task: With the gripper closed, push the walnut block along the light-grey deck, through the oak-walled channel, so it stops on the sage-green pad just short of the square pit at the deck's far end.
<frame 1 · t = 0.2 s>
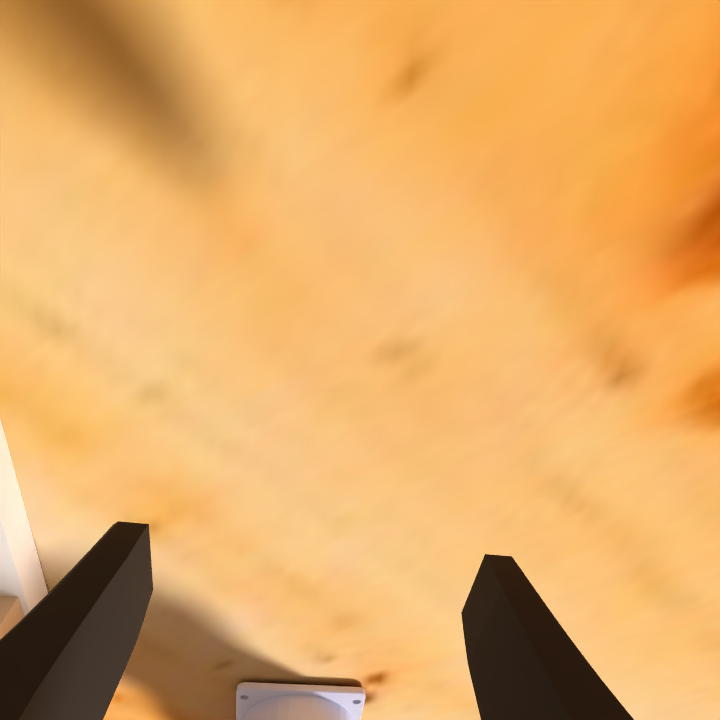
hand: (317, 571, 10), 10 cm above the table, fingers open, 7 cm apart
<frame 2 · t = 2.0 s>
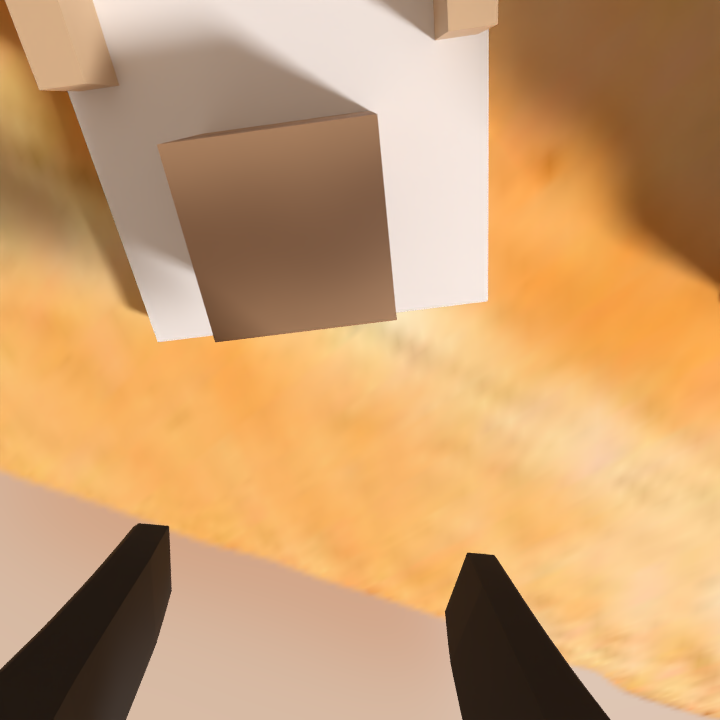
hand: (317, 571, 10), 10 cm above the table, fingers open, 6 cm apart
walnut block: (300, 208, 15), point 1 cm above the table, touching deck
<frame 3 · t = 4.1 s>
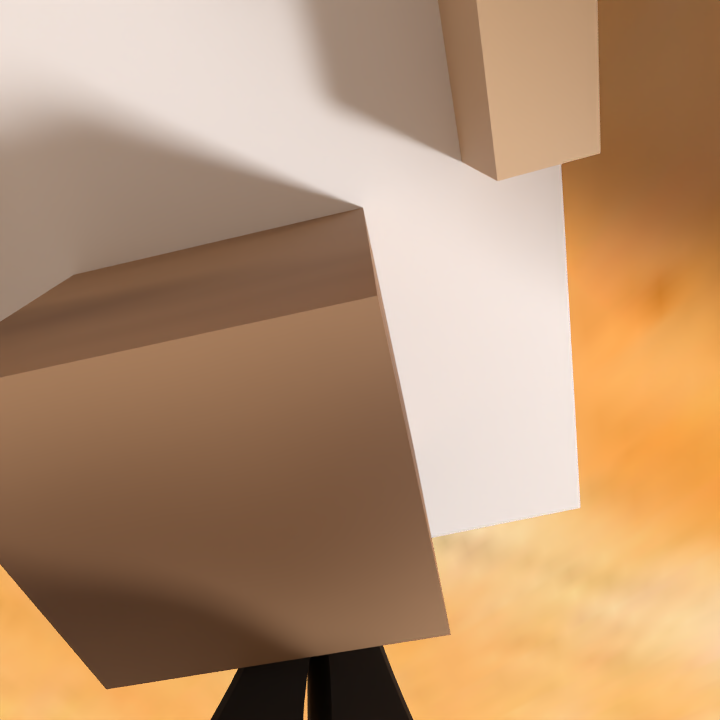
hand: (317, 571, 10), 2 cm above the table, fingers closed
walnut block: (261, 370, 9), point 2 cm above the table, touching gripper
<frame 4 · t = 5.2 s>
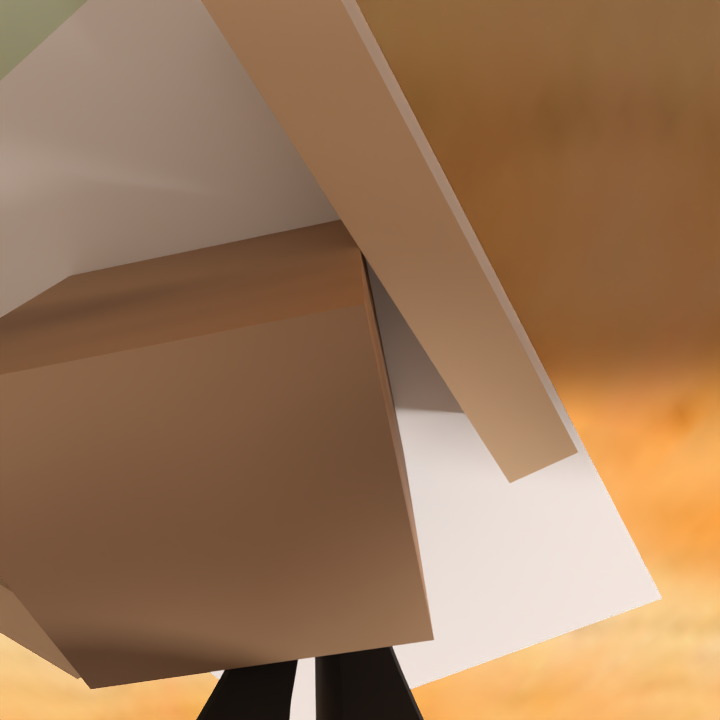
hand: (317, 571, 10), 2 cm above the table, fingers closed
deck: (132, 265, 10), on the table
walnut block: (254, 374, 9), point 2 cm above the table, touching deck, gripper
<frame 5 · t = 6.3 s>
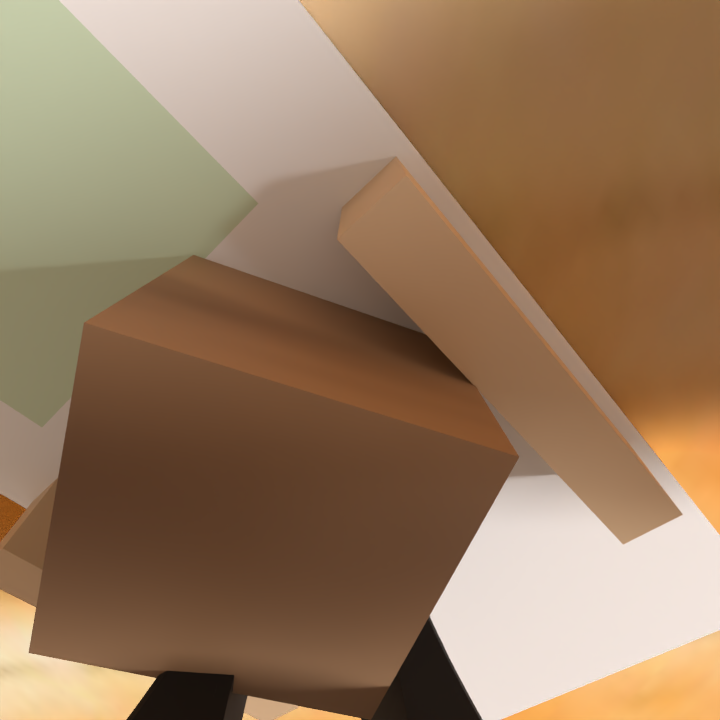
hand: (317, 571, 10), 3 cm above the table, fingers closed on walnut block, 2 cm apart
deck: (265, 385, 12), on the table
walnut block: (287, 412, 10), point 2 cm above the table, tilted 8°, touching deck, gripper
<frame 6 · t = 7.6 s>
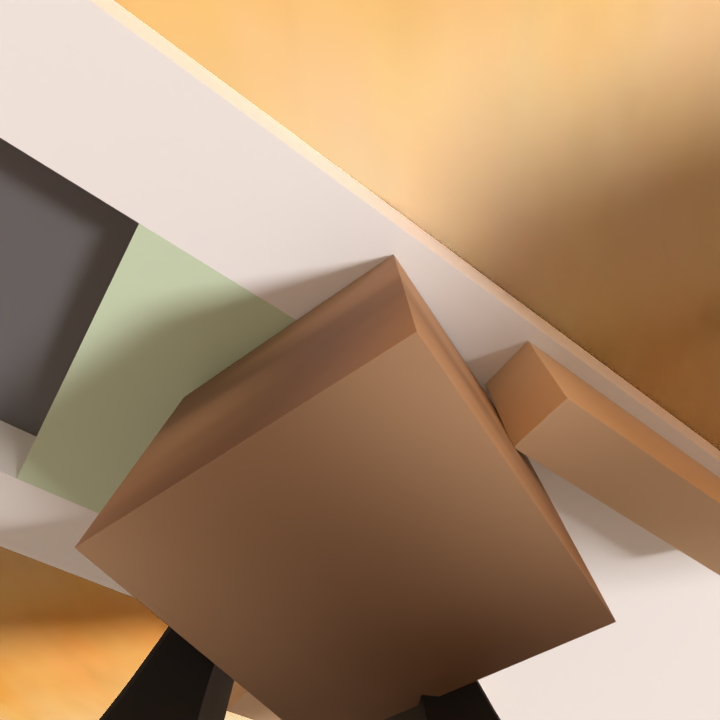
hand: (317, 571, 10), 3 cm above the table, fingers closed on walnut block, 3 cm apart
deck: (416, 503, 13), on the table
walnut block: (358, 424, 10), point 2 cm above the table, tilted 6°, touching deck, gripper
when the fingers open (3 cm above the table, at t = 8.2 s): walnut block moves 2 cm, resting on deck.
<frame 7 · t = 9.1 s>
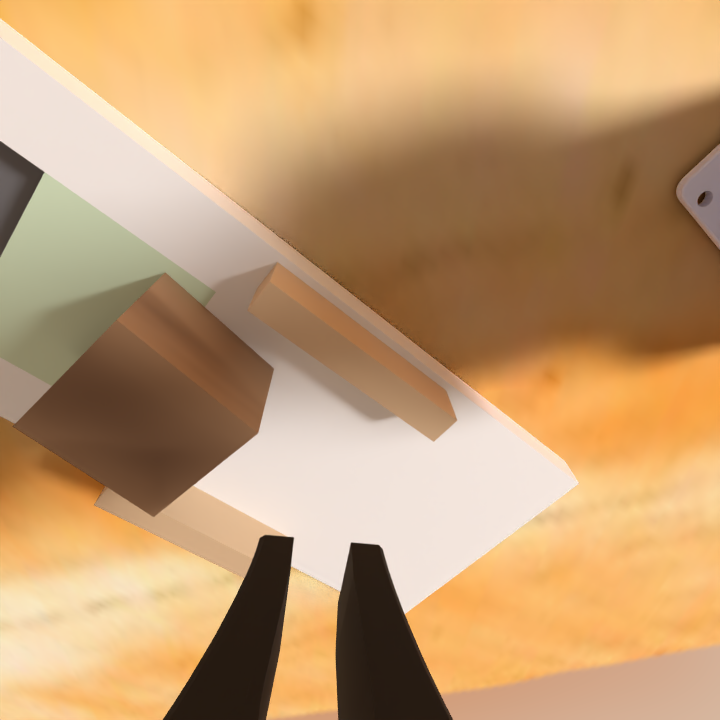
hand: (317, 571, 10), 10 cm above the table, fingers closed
deck: (240, 385, 20), on the table
walnut block: (177, 365, 18), point 1 cm above the table, touching deck
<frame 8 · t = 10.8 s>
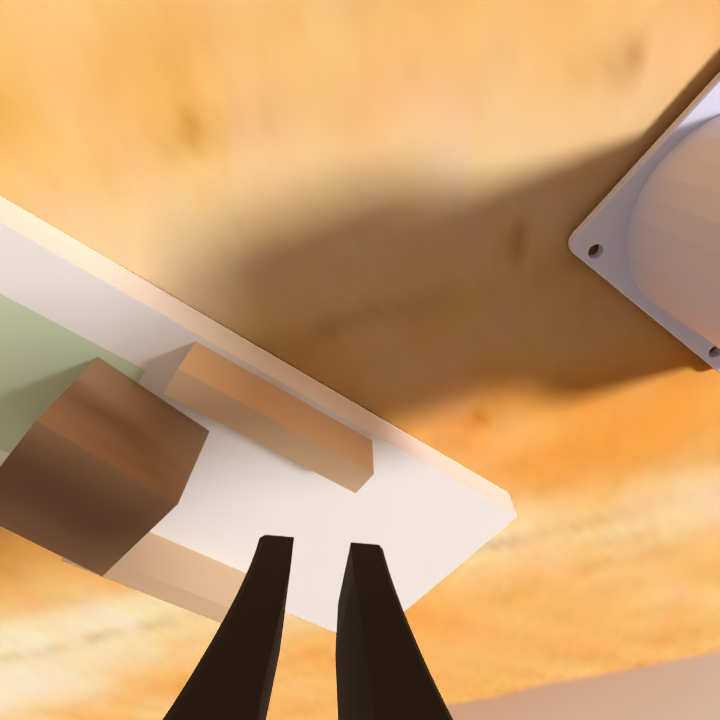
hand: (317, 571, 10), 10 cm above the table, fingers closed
deck: (189, 441, 22), on the table
walnut block: (122, 433, 20), point 1 cm above the table, touching deck
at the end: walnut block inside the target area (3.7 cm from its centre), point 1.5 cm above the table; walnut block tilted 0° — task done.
